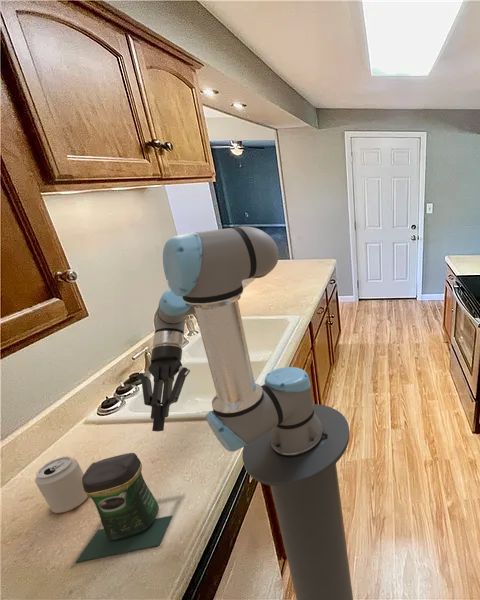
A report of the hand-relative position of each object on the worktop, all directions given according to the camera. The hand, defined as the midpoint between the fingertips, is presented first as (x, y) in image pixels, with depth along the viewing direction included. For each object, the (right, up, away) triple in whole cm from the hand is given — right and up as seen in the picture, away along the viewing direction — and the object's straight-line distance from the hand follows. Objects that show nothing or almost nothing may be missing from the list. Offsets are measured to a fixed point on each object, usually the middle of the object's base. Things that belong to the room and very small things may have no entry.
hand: (157, 430), depth 90 cm
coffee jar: (+4, -17, -12) cm, 21 cm away
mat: (+4, -17, -13) cm, 22 cm away
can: (-17, -16, -6) cm, 24 cm away
